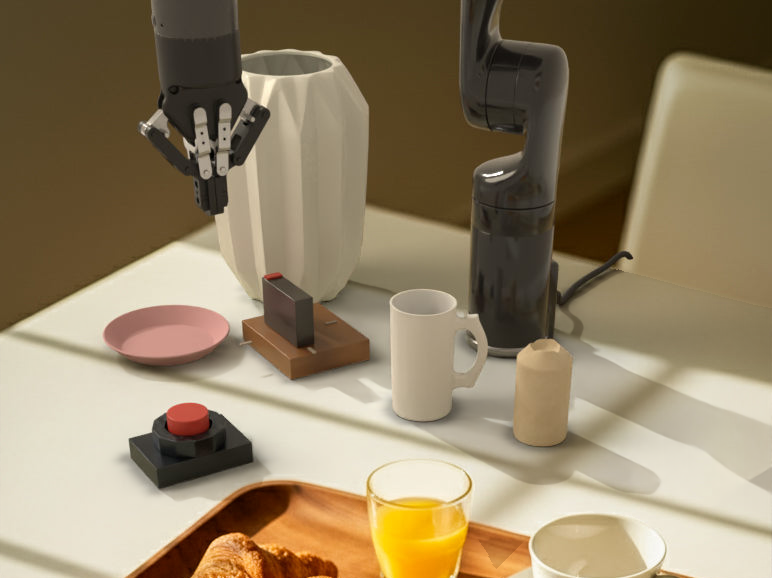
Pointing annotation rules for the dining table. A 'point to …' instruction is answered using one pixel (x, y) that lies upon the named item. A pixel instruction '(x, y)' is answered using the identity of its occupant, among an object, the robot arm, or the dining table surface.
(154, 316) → the plate
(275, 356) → the oak panel
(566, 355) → the candle
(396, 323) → the mug
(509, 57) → the robot arm
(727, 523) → the dining table surface
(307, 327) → the bar knob
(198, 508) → the dining table surface
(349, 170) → the vase
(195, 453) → the button block
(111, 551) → the dining table surface
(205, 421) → the button
